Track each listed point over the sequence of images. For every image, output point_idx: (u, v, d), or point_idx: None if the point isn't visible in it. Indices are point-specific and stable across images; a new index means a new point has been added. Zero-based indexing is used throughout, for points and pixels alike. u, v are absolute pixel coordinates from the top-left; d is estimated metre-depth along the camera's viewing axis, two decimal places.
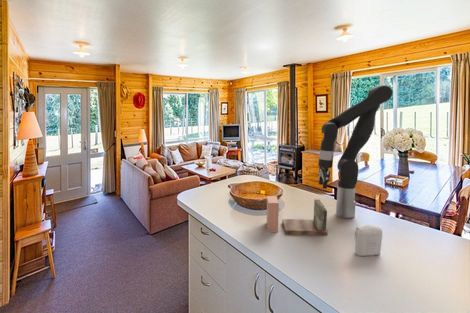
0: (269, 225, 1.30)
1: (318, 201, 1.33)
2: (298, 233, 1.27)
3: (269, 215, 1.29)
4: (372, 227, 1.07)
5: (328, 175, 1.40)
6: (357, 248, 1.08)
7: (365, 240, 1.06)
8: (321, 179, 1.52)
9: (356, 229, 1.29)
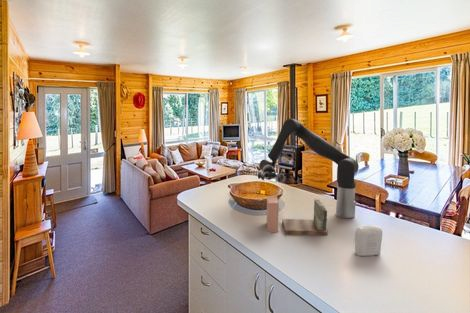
0: (269, 225, 1.30)
1: (318, 201, 1.33)
2: (298, 233, 1.27)
3: (269, 215, 1.29)
4: (372, 227, 1.07)
5: (258, 174, 1.53)
6: (357, 248, 1.08)
7: (365, 240, 1.06)
8: (277, 177, 1.47)
9: None
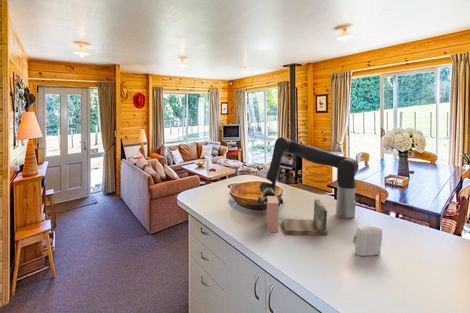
0: (269, 225, 1.30)
1: (318, 201, 1.33)
2: (298, 233, 1.27)
3: (269, 215, 1.29)
4: (372, 227, 1.07)
5: (258, 199, 1.52)
6: (357, 248, 1.08)
7: (365, 240, 1.06)
8: None
9: None
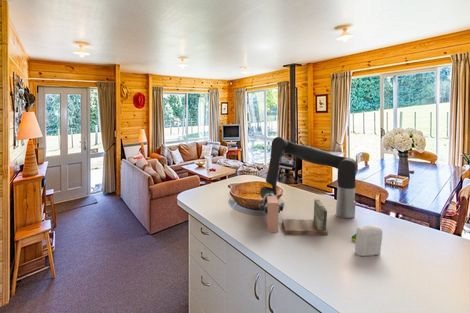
0: (269, 225, 1.30)
1: (318, 201, 1.33)
2: (298, 233, 1.27)
3: (269, 215, 1.29)
4: (372, 227, 1.07)
5: (259, 205, 1.41)
6: (357, 248, 1.08)
7: (365, 240, 1.06)
8: None
9: None
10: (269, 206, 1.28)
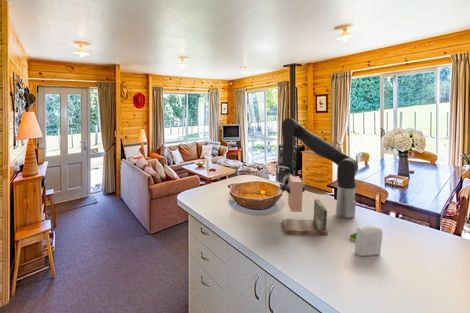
0: (292, 205, 1.26)
1: (318, 201, 1.33)
2: (298, 233, 1.27)
3: (293, 194, 1.25)
4: (372, 227, 1.07)
5: (280, 186, 1.38)
6: (357, 248, 1.08)
7: (365, 240, 1.06)
8: None
9: None
10: (293, 185, 1.25)
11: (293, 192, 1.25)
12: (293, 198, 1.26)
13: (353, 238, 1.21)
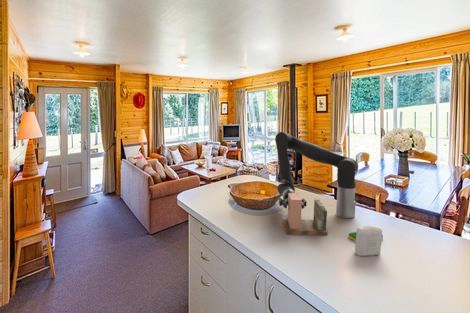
0: (292, 222, 1.28)
1: (318, 201, 1.33)
2: (298, 233, 1.27)
3: (292, 212, 1.27)
4: (372, 227, 1.07)
5: (279, 200, 1.40)
6: (357, 248, 1.08)
7: (365, 240, 1.06)
8: None
9: None
10: (292, 203, 1.26)
11: (292, 210, 1.27)
12: (292, 216, 1.27)
13: (351, 237, 1.22)
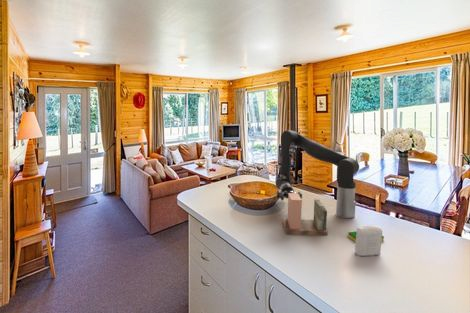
0: (292, 222, 1.28)
1: (318, 201, 1.33)
2: (298, 233, 1.27)
3: (292, 212, 1.27)
4: (372, 227, 1.07)
5: None
6: (357, 248, 1.08)
7: (365, 240, 1.06)
8: None
9: None
10: (292, 203, 1.26)
11: (292, 210, 1.27)
12: (292, 216, 1.27)
13: (350, 235, 1.23)
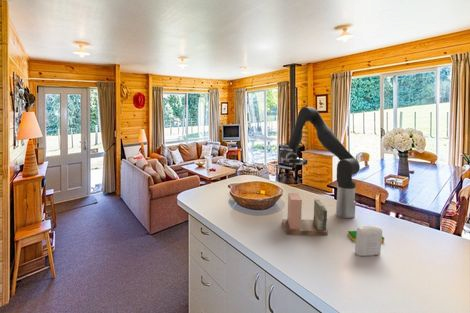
0: (292, 222, 1.28)
1: (318, 201, 1.33)
2: (298, 233, 1.27)
3: (292, 212, 1.27)
4: (372, 227, 1.07)
5: None
6: (357, 248, 1.08)
7: (365, 240, 1.06)
8: (302, 162, 1.52)
9: None
10: (292, 203, 1.26)
11: (292, 210, 1.27)
12: (292, 216, 1.27)
13: (349, 234, 1.25)
